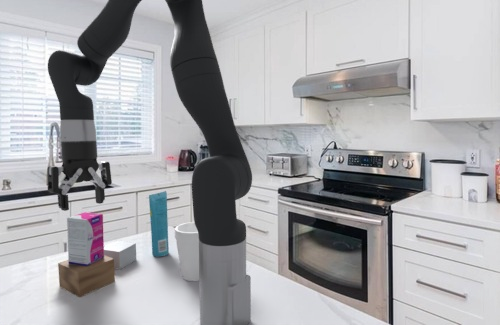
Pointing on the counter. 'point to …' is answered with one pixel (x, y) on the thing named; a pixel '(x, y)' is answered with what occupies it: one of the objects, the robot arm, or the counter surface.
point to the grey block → (121, 253)
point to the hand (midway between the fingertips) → (83, 206)
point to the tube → (159, 224)
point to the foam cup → (188, 250)
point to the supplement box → (85, 238)
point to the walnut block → (86, 276)
